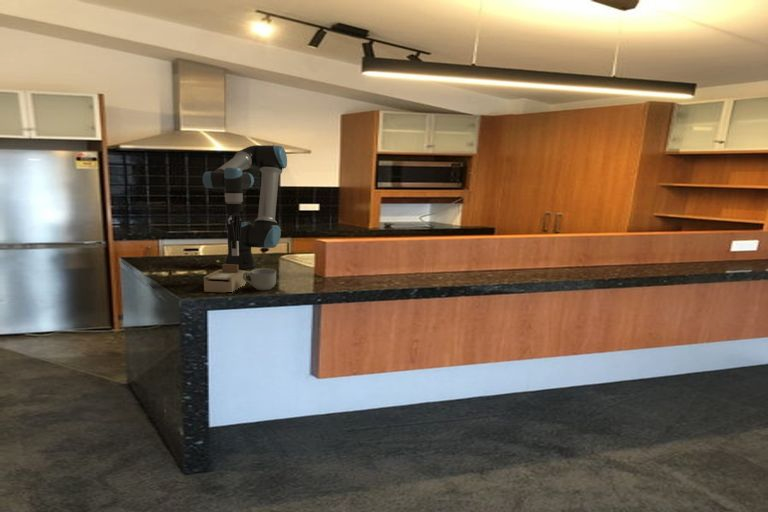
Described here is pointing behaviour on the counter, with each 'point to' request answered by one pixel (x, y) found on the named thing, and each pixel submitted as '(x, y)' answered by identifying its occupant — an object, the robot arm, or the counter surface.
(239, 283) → the box
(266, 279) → the teacup
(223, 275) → the lid
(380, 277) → the counter surface
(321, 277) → the counter surface
